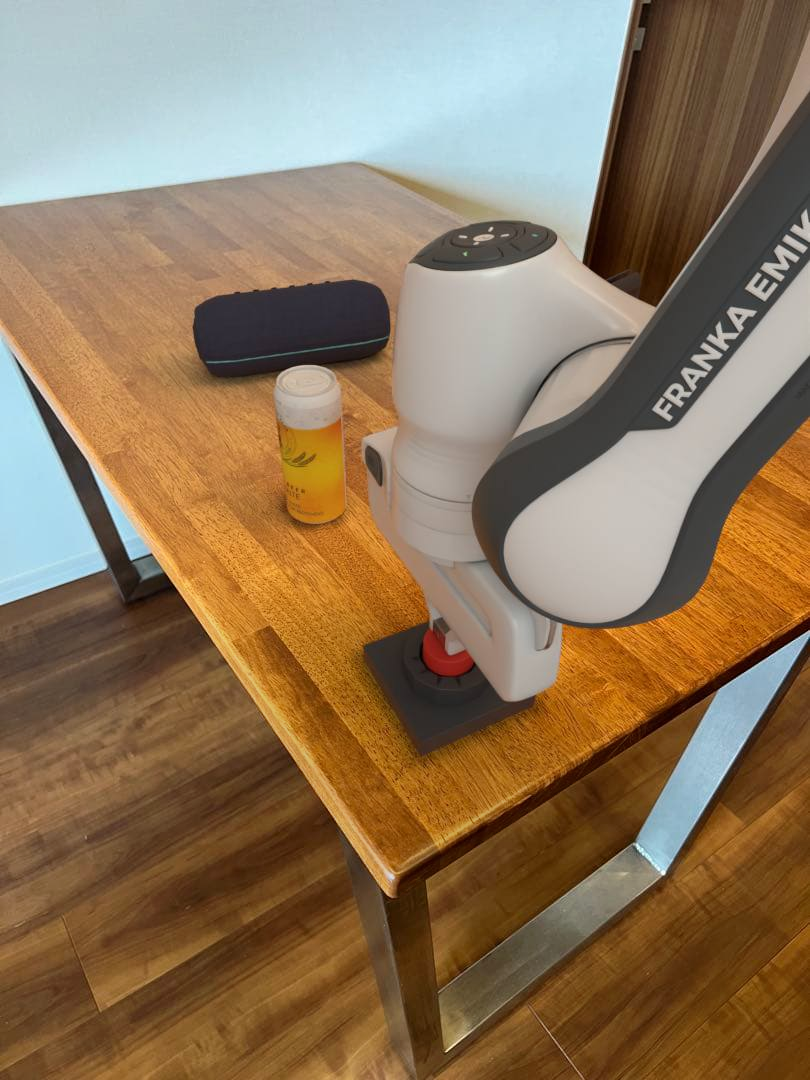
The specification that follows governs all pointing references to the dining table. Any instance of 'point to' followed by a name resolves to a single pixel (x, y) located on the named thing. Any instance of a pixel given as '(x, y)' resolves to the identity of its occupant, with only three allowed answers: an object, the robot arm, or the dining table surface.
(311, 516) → the beer can
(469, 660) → the button
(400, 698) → the button base
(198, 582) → the dining table surface
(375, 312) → the portable speaker
